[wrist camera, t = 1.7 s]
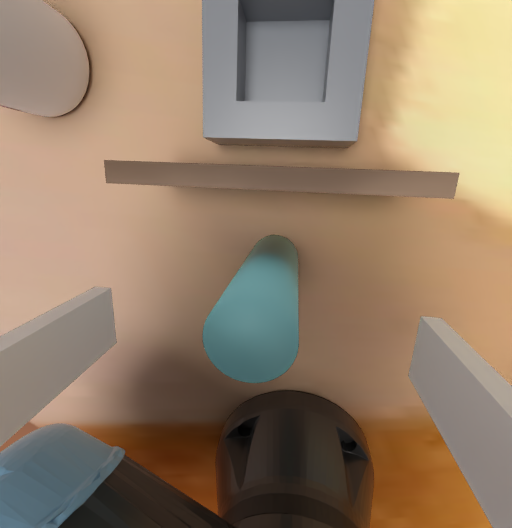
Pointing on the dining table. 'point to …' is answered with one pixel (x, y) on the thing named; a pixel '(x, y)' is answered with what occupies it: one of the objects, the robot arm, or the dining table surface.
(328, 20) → the socket block
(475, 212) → the dining table surface
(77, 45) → the milk bottle
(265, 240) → the peg
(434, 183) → the wooden cutting board
